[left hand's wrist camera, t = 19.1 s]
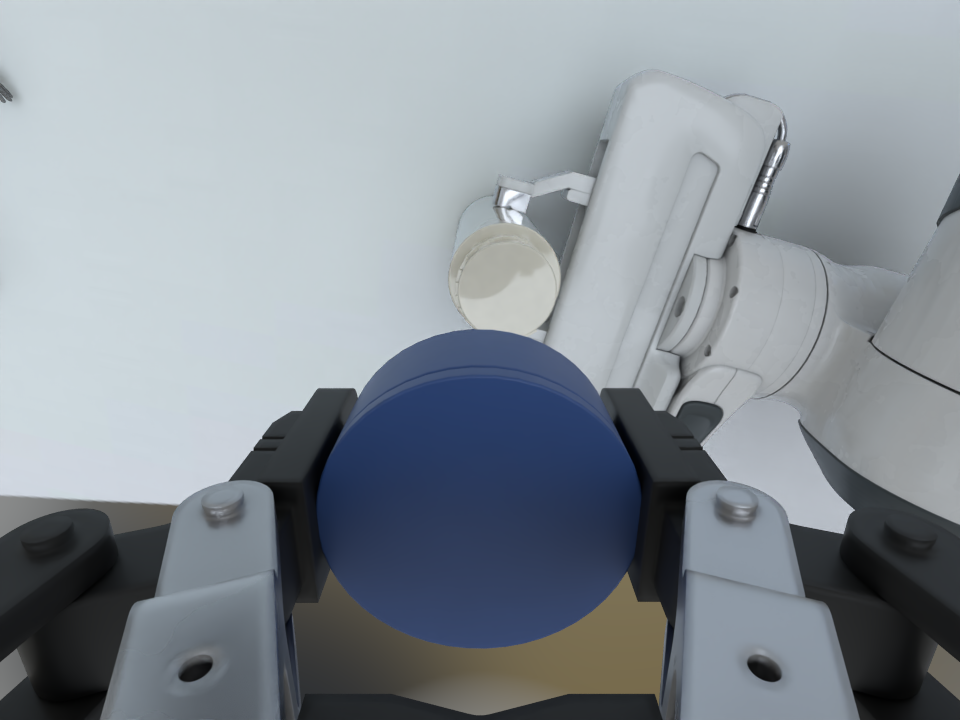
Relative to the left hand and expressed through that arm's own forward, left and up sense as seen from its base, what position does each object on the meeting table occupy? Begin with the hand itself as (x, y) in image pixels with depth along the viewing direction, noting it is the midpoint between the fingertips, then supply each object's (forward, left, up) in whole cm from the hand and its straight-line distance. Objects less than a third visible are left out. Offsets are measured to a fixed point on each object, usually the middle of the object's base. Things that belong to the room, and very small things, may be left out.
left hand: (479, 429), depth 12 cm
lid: (0, 0, +3) cm, 3 cm away
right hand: (0, +1, -19) cm, 19 cm away
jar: (+1, +1, -26) cm, 26 cm away
